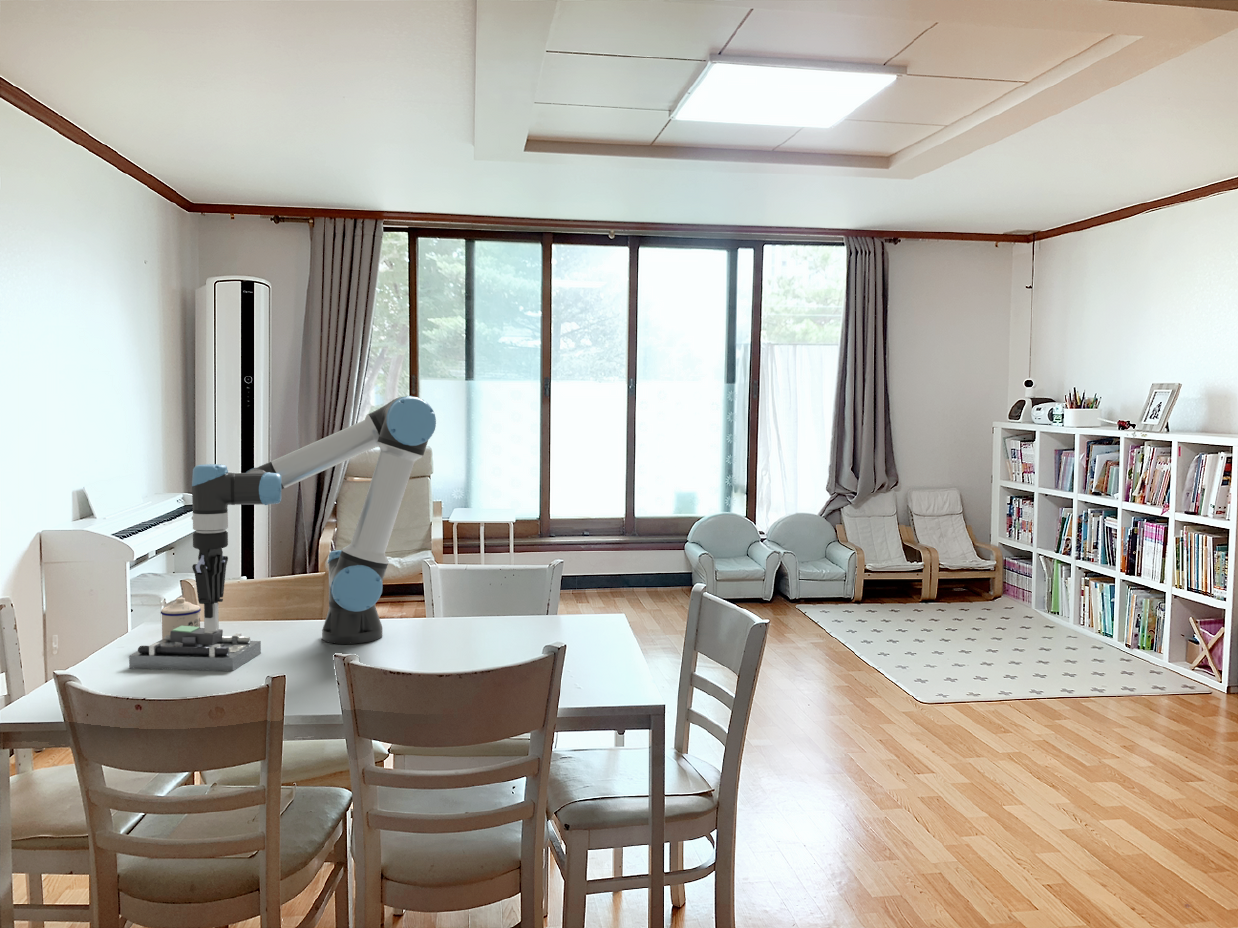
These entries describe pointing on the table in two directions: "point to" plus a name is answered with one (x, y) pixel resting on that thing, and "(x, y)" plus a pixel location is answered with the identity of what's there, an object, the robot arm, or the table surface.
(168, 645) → the panel
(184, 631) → the rocker
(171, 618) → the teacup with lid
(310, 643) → the table surface
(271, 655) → the table surface
